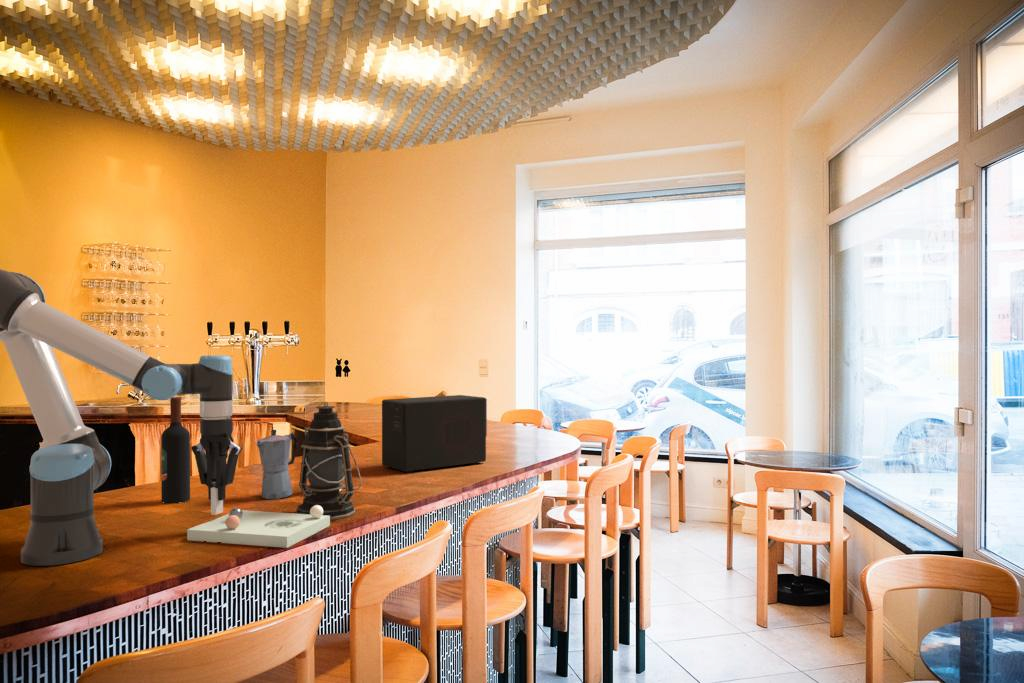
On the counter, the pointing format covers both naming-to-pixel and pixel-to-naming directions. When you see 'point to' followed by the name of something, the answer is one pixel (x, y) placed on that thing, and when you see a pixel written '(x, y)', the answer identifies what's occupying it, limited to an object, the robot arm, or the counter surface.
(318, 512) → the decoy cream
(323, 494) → the lantern
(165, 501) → the wine bottle
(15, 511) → the counter surface
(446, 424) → the black rectangular block
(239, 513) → the steel ball
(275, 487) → the moka pot
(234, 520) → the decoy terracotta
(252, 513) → the board
